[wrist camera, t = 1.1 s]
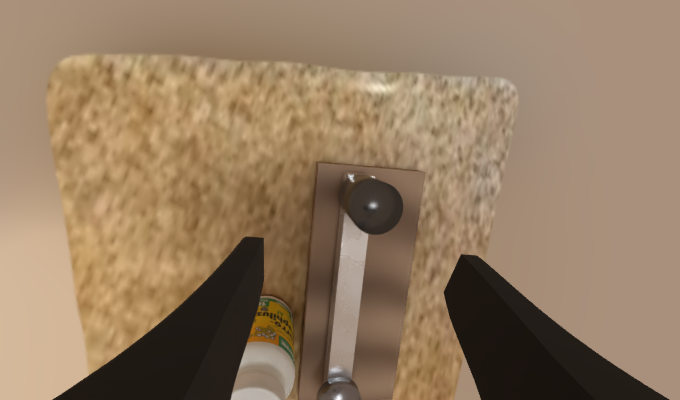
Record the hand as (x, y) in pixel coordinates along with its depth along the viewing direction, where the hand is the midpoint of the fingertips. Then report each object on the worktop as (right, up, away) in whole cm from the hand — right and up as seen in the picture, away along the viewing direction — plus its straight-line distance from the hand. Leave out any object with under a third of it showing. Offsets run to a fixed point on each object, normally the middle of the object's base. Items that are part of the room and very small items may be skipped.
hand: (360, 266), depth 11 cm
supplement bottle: (-8, -8, +16) cm, 19 cm away
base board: (+1, -5, +16) cm, 17 cm away
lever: (0, -5, +14) cm, 15 cm away
